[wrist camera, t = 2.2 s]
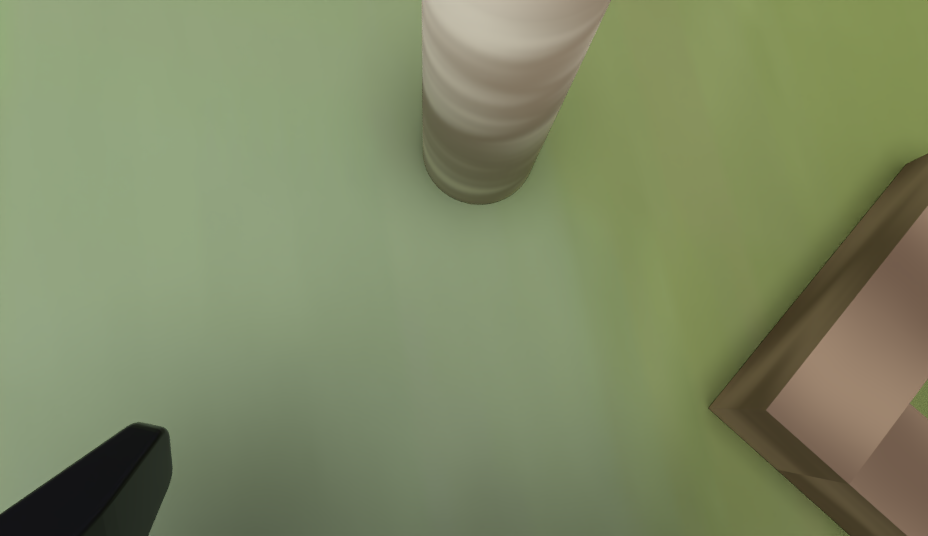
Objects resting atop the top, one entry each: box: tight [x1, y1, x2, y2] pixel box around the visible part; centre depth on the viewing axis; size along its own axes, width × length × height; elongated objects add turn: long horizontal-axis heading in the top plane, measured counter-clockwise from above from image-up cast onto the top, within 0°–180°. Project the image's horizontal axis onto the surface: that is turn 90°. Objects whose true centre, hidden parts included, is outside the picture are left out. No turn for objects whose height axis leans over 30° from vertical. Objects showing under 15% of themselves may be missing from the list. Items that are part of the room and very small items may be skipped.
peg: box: [422, 0, 611, 204], centre depth 19 cm, size 4×4×12 cm
